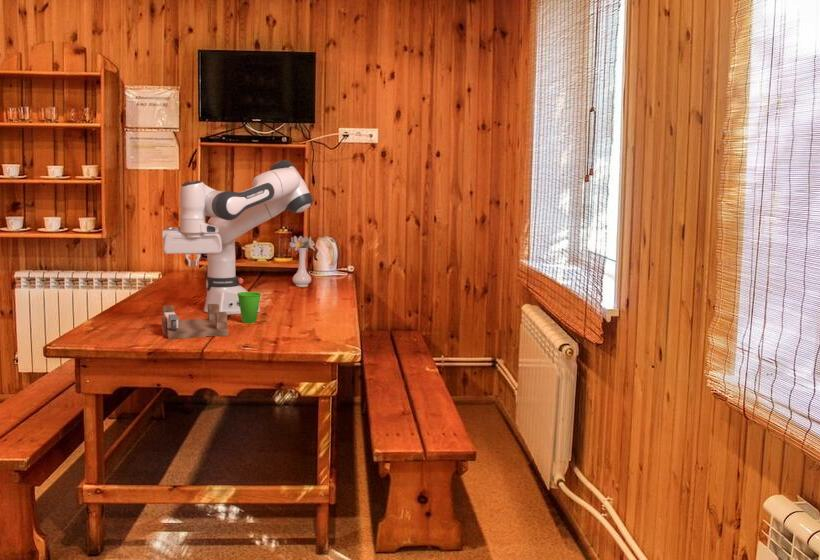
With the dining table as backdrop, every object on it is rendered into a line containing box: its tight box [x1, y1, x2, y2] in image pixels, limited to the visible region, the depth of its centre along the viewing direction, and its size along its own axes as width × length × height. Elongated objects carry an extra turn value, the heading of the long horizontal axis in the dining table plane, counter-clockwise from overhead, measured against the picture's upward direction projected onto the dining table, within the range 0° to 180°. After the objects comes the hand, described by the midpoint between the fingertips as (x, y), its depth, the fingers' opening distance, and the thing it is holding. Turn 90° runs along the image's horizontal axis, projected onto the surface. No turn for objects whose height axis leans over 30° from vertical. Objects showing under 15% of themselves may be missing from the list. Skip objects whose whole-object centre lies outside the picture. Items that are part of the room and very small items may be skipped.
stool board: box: [161, 304, 229, 340], centre depth 283 cm, size 21×20×8 cm
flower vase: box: [288, 235, 316, 288], centre depth 393 cm, size 13×18×25 cm
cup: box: [237, 291, 262, 324], centre depth 302 cm, size 9×9×11 cm
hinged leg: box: [164, 311, 179, 328], centre depth 278 cm, size 15×4×5 cm, turn 23°
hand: (192, 266), depth 283 cm, fingers closed
